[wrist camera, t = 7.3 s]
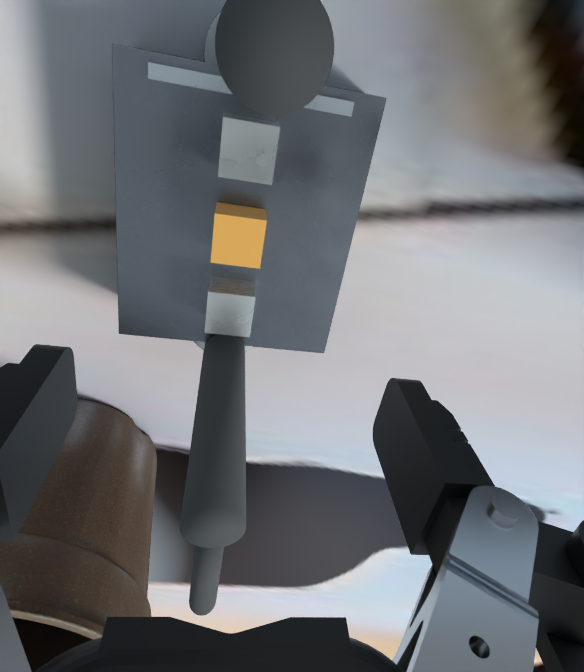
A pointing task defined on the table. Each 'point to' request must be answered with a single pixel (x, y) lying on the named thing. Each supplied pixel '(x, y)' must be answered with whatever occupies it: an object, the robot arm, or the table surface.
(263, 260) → the grey block holder
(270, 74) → the cable post
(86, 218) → the table surface
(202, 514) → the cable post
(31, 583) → the plant pot
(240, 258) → the orange matte cube
